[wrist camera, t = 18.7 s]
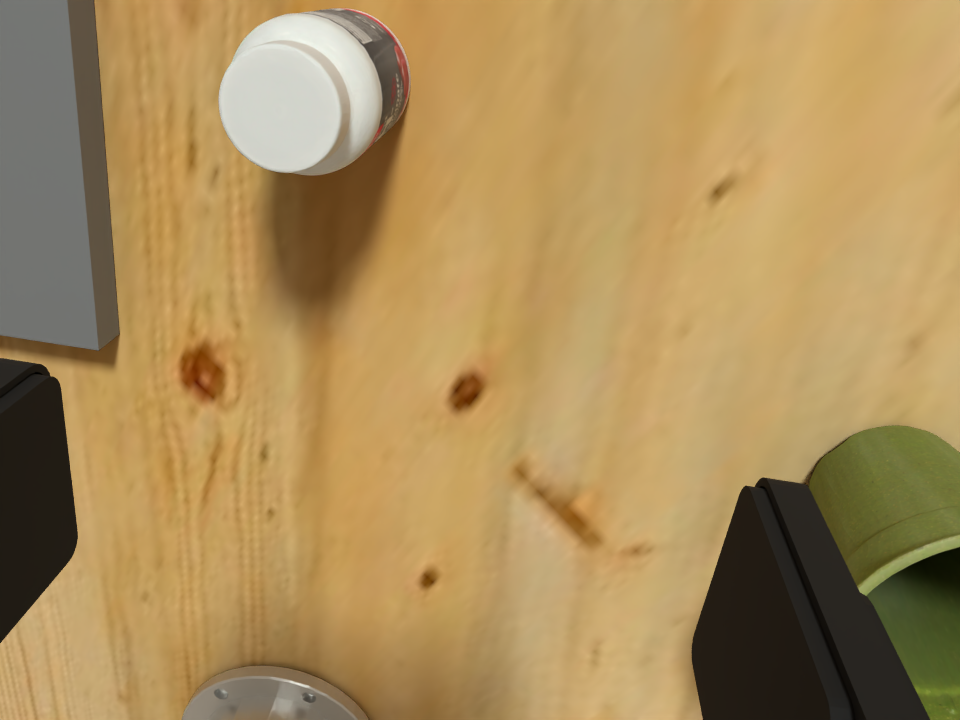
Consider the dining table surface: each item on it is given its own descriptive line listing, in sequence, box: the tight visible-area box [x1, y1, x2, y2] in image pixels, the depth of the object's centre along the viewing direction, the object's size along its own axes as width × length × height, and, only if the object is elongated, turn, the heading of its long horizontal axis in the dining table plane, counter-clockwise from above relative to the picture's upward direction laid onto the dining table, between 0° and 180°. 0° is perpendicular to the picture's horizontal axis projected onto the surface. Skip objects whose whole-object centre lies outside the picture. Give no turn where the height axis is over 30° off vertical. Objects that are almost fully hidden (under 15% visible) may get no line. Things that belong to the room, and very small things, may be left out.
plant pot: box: [809, 426, 960, 720], centre depth 35 cm, size 12×12×11 cm
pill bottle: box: [219, 8, 411, 175], centre depth 30 cm, size 5×5×10 cm
